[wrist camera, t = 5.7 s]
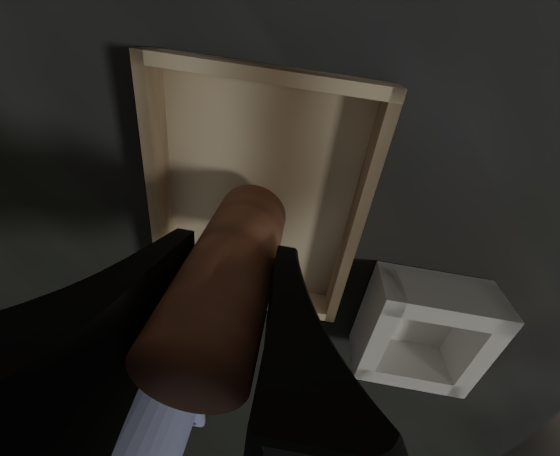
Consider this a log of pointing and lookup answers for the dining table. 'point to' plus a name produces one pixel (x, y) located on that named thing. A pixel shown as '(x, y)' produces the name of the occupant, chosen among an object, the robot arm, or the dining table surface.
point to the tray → (265, 150)
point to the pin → (213, 310)
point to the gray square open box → (429, 329)
